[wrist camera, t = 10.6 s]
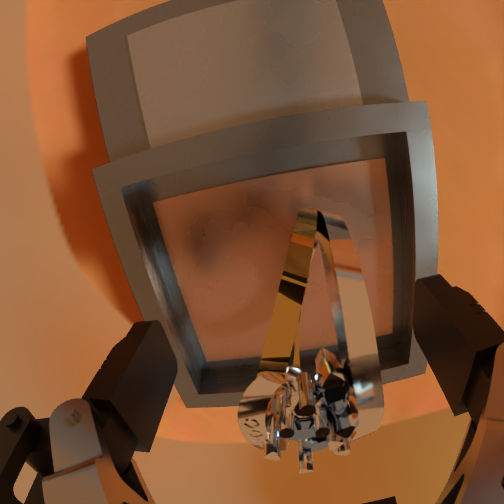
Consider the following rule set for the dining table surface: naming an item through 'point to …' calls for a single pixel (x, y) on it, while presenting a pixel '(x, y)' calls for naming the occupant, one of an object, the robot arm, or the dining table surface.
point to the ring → (327, 368)
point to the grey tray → (261, 175)
